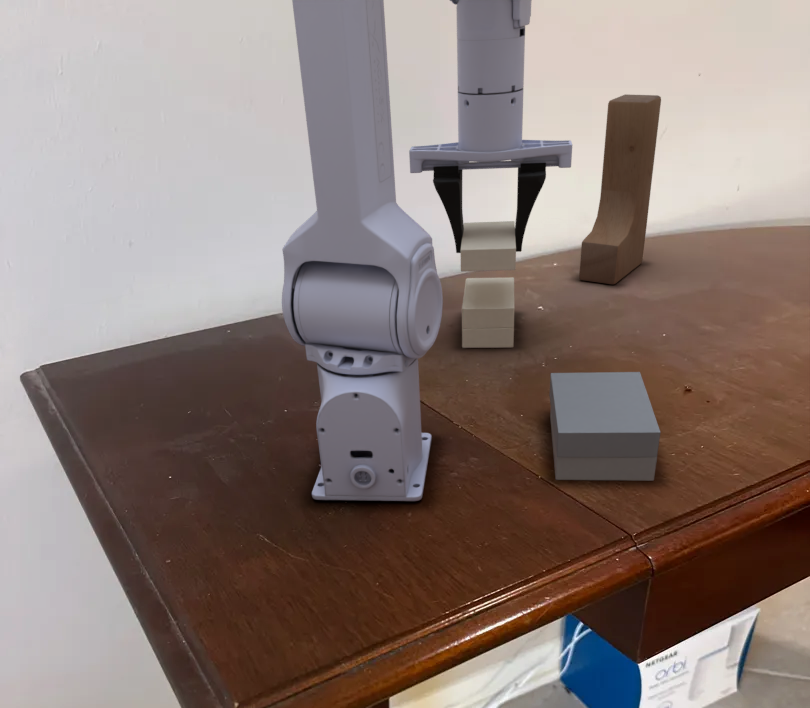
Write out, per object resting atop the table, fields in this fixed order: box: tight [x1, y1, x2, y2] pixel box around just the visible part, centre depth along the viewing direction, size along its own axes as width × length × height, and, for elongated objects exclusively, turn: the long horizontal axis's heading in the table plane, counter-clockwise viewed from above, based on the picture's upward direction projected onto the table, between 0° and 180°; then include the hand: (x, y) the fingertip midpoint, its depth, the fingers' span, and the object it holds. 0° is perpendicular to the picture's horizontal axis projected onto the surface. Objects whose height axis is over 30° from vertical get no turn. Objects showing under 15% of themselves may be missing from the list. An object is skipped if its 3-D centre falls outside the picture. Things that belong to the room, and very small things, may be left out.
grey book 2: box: [549, 411, 658, 482], centre depth 62 cm, size 10×7×2 cm
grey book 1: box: [548, 371, 661, 458], centre depth 61 cm, size 10×7×2 cm
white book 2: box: [461, 327, 515, 349], centre depth 83 cm, size 9×5×2 cm, turn 174°
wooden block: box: [578, 94, 662, 285], centre depth 91 cm, size 9×4×18 cm, turn 146°
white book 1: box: [461, 276, 515, 329], centre depth 82 cm, size 9×5×2 cm, turn 174°
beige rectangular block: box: [460, 220, 517, 273], centre depth 78 cm, size 9×5×2 cm, turn 175°
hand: (489, 249), depth 79 cm, fingers closed on beige rectangular block, 5 cm apart
